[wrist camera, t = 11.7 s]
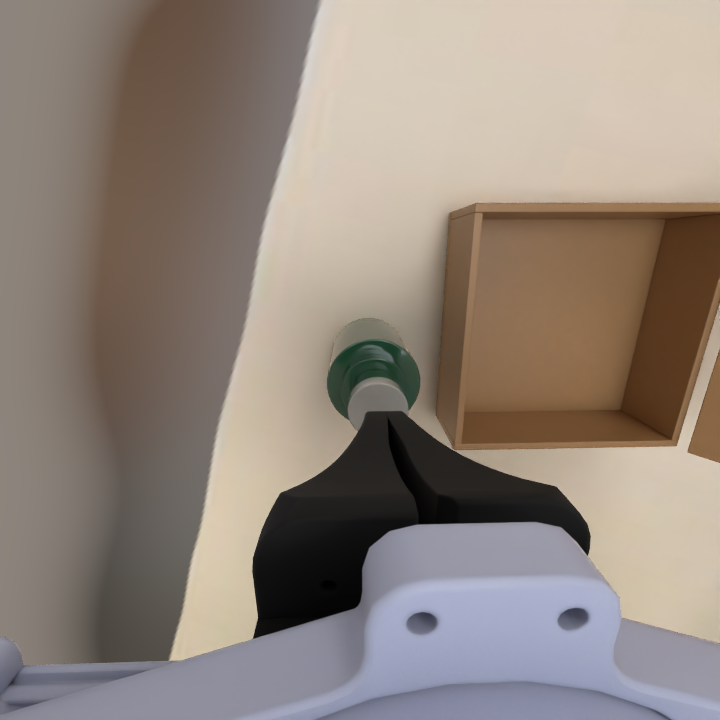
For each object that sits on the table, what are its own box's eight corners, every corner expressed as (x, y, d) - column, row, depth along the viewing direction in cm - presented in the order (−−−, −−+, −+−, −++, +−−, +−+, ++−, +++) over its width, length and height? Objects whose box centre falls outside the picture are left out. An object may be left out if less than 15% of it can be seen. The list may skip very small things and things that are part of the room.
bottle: (403, 386, 23) (430, 459, 15) (333, 387, 23) (324, 461, 15) (405, 317, 22) (437, 357, 14) (331, 318, 22) (319, 358, 14)
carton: (668, 212, 20) (750, 202, 16) (620, 412, 24) (676, 446, 20) (449, 212, 20) (475, 203, 16) (435, 415, 24) (454, 450, 20)
